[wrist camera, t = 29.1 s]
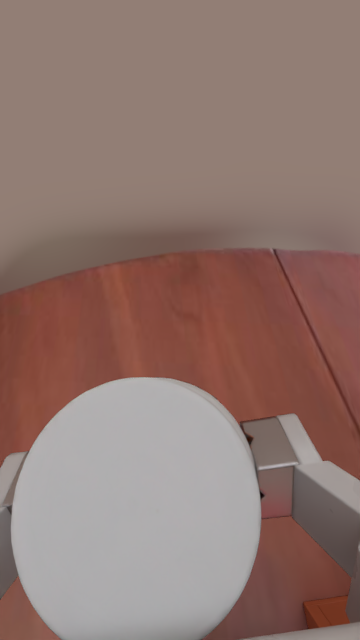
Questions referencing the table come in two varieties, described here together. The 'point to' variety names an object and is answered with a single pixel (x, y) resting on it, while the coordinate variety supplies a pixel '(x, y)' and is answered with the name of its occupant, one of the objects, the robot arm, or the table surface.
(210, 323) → the table surface
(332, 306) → the table surface
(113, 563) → the pill bottle
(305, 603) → the terracotta bin
